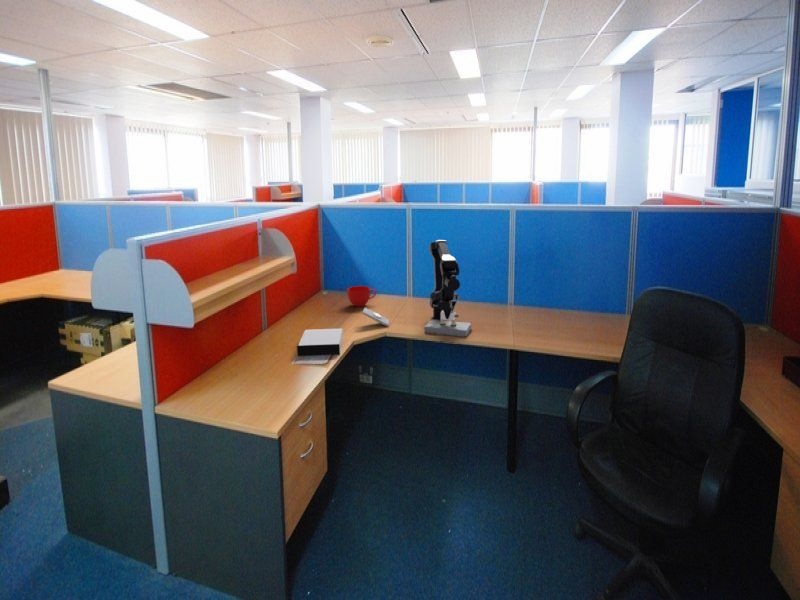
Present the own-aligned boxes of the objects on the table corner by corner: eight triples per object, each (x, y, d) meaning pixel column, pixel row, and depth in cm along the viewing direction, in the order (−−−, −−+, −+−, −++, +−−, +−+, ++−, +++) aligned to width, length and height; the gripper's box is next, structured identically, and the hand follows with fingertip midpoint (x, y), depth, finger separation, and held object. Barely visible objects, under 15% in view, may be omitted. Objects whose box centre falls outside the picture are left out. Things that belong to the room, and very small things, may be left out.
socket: (431, 325, 239) (431, 318, 238) (471, 328, 232) (471, 322, 231) (424, 332, 228) (424, 325, 227) (465, 336, 221) (466, 329, 220)
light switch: (389, 323, 237) (363, 310, 235) (384, 333, 238) (358, 320, 237) (390, 318, 245) (365, 305, 244) (385, 328, 246) (360, 315, 245)
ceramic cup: (379, 306, 274) (379, 289, 271) (350, 309, 269) (349, 292, 267) (374, 301, 286) (373, 284, 283) (346, 303, 281) (345, 287, 279)
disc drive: (297, 357, 201) (296, 345, 200) (305, 339, 223) (304, 329, 221) (339, 355, 202) (339, 344, 200) (343, 338, 223) (342, 327, 222)
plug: (442, 322, 232) (442, 310, 230) (459, 323, 229) (459, 311, 227) (440, 324, 228) (440, 312, 227) (457, 325, 226) (457, 313, 224)
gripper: (437, 280, 235) (437, 311, 239) (426, 289, 218) (426, 321, 222) (459, 282, 232) (459, 313, 236) (450, 290, 215) (449, 324, 219)
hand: (448, 317), depth 228 cm, fingers closed on plug, 4 cm apart
